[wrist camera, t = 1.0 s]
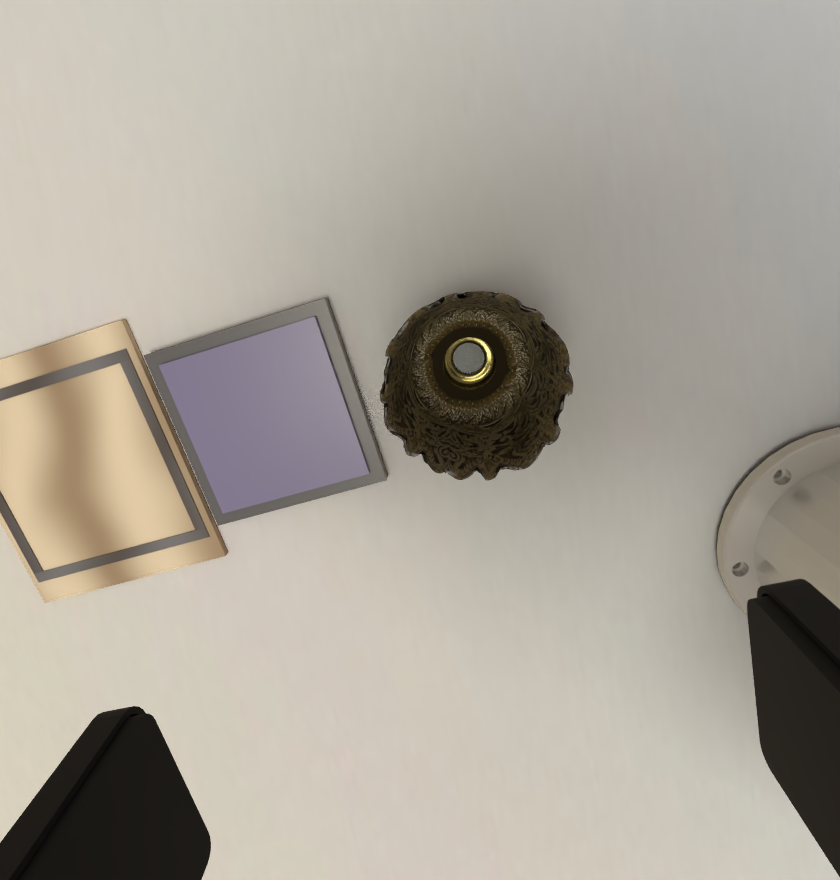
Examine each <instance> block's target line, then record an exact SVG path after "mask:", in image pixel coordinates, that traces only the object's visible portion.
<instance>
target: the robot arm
mask: <svg viewBox="0 0 840 880" xmlns="http://www.w3.org/2000/svg"><path fill="white" fill-rule="evenodd" d="M717 559H718V567H719V571H720V574H721V577H722V580H723V582H724V585H725V587H726V589H727V590H728V592H729V593H730V595H731V597H732V598H733V600H734V601H735V602H736V604H737V605H738V606H739V607H740V608H741V609H742V610H743V611H744V612H745V614H746V615H747V616H748V624H749V635H750V645H751V655H752V665H753V676H754V686H755V696H756V706H757V716H758V727H759V737H760V744H761V749H762V752H763V755H764V757H765V760H766V762H767V764H768V766H769V768H770V770H771V772H772V773H773V775H774V776H775V778H776V780H777V781H778V783H779V784H780V786H781V787H782V789H783V790H784V792H785V793H786V795H787V796H788V798H789V800H790V801H791V803H792V804H793V806H794V807H795V809H796V810H797V812H798V813H799V815H800V817H801V818H802V820H803V821H804V823H805V824H806V826H807V827H808V829H809V830H810V832H811V833H812V835H813V837H814V838H815V840H816V841H817V843H818V844H819V846H820V847H821V849H822V850H823V852H824V854H825V855H826V857H827V858H828V860H829V861H830V863H831V864H832V866H833V867H834V869H835V870H836V872H837V874H838V875H839V877H840V427H837V428H833V429H829V430H825V431H821V432H817V433H813V434H811V435H808V436H806V437H804V438H802V439H799V440H797V441H795V442H792V443H790V444H788V445H787V446H785V447H783V448H782V449H780V450H779V451H777V452H776V453H774V454H772V455H771V456H769V457H768V458H767V459H766V460H765V461H763V462H762V463H761V464H760V465H759V466H758V467H757V468H756V469H754V470H753V471H752V472H751V473H750V474H749V475H748V477H747V478H746V479H745V480H744V482H743V483H742V484H741V485H740V486H739V488H738V489H737V490H736V491H735V493H734V495H733V497H732V499H731V501H730V502H729V504H728V506H727V508H726V510H725V512H724V515H723V518H722V521H721V525H720V528H719V531H718V541H717ZM210 850H211V841H210V836H209V832H208V830H207V828H206V826H205V824H204V822H203V820H202V817H201V815H200V813H199V811H198V809H197V807H196V805H195V803H194V801H193V798H192V796H191V794H190V792H189V790H188V788H187V786H186V784H185V782H184V779H183V777H182V775H181V773H180V771H179V769H178V767H177V765H176V763H175V760H174V758H173V756H172V754H171V752H170V750H169V748H168V746H167V744H166V741H165V739H164V737H163V735H162V733H161V731H160V729H159V727H158V725H157V722H156V720H155V719H154V717H153V716H152V715H150V714H146V713H145V712H144V710H143V709H141V708H140V707H136V706H133V707H128V708H122V709H117V710H112V711H107V712H103V713H100V714H98V715H97V716H96V717H95V718H94V719H93V720H92V721H91V723H90V724H89V725H88V727H87V728H86V729H85V731H84V732H83V733H82V735H81V736H80V737H79V739H78V740H77V741H76V743H75V744H74V745H73V747H72V748H71V749H70V751H69V752H68V753H67V755H66V756H65V757H64V759H63V760H62V761H61V763H60V764H59V765H58V767H57V768H56V769H55V771H54V772H53V773H52V775H51V776H50V777H49V779H48V780H47V781H46V783H45V784H44V785H43V787H42V788H41V789H40V791H39V792H38V793H37V795H36V796H35V797H34V799H33V800H32V801H31V803H30V804H29V805H28V807H27V808H26V809H25V811H24V812H23V813H22V815H21V816H20V817H19V819H18V820H17V821H16V823H15V824H14V825H13V827H12V828H11V829H10V831H9V832H8V833H7V835H6V836H5V837H4V839H3V840H2V841H1V843H0V880H201V879H202V877H203V874H204V871H205V869H206V866H207V863H208V860H209V857H210Z"/></svg>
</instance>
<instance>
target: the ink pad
mask: <svg viewBox="0 0 840 880" xmlns="http://www.w3.org/2000/svg"><path fill="white" fill-rule="evenodd" d="M144 357H145V360H146V362H147V364H148V366H149V369H150V371H151V373H152V376H153V378H154V380H155V382H156V385H157V387H158V389H159V392H160V394H161V396H162V398H163V401H164V403H165V405H166V408H167V410H168V412H169V414H170V417H171V419H172V421H173V424H174V426H175V428H176V430H177V433H178V435H179V437H180V440H181V442H182V444H183V446H184V449H185V451H186V453H187V455H188V458H189V460H190V462H191V465H192V467H193V469H194V471H195V474H196V476H197V478H198V481H199V483H200V485H201V487H202V490H203V492H204V494H205V497H206V499H207V501H208V503H209V506H210V508H211V510H212V513H213V515H214V517H215V519H216V522H217V524H218V525H222V524H226V523H229V522H233V521H237V520H241V519H244V518H248V517H252V516H255V515H259V514H263V513H267V512H270V511H274V510H278V509H281V508H285V507H289V506H292V505H296V504H300V503H304V502H307V501H311V500H315V499H318V498H322V497H326V496H330V495H333V494H337V493H341V492H344V491H348V490H352V489H356V488H359V487H363V486H367V485H370V484H374V483H378V482H381V481H385V480H387V477H388V475H387V472H386V469H385V466H384V463H383V460H382V457H381V454H380V451H379V448H378V445H377V442H376V439H375V436H374V433H373V430H372V427H371V424H370V421H369V419H368V416H367V413H366V410H365V407H364V404H363V401H362V398H361V395H360V392H359V389H358V386H357V383H356V380H355V377H354V374H353V371H352V368H351V365H350V362H349V360H348V357H347V354H346V351H345V348H344V345H343V342H342V339H341V336H340V333H339V330H338V327H337V324H336V321H335V318H334V315H333V312H332V309H331V306H330V303H329V301H328V298H327V297H326V298H323V299H320V300H317V301H314V302H310V303H307V304H304V305H301V306H298V307H295V308H291V309H288V310H285V311H282V312H279V313H276V314H273V315H269V316H266V317H263V318H260V319H257V320H254V321H251V322H247V323H244V324H241V325H238V326H235V327H232V328H229V329H225V330H222V331H219V332H216V333H213V334H210V335H206V336H203V337H200V338H197V339H194V340H191V341H188V342H184V343H181V344H178V345H175V346H172V347H169V348H166V349H162V350H159V351H156V352H153V353H150V354H147V355H144Z"/></svg>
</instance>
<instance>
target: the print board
mask: <svg viewBox="0 0 840 880" xmlns="http://www.w3.org/2000/svg"><path fill="white" fill-rule="evenodd" d="M0 523H1V524H2V526H3V528H4V530H5V532H6V534H7V535H8V537H9V539H10V541H11V543H12V544H13V546H14V548H15V550H16V552H17V553H18V555H19V557H20V559H21V561H22V562H23V564H24V566H25V568H26V570H27V572H28V573H29V575H30V577H31V579H32V581H33V582H34V584H35V586H36V588H37V590H38V591H39V593H40V595H41V597H42V599H43V600H44V602H45V603H47V602H51V601H55V600H59V599H62V598H66V597H70V596H74V595H78V594H81V593H85V592H89V591H93V590H97V589H101V588H104V587H108V586H112V585H116V584H120V583H123V582H127V581H131V580H135V579H139V578H143V577H146V576H150V575H154V574H158V573H162V572H166V571H169V570H173V569H177V568H181V567H185V566H188V565H192V564H196V563H200V562H204V561H208V560H211V559H215V558H219V557H223V556H226V555H227V553H228V551H227V549H226V546H225V544H224V542H223V540H222V537H221V535H220V533H219V531H218V528H217V526H216V524H215V521H214V519H213V517H212V515H211V512H210V510H209V508H208V505H207V503H206V501H205V499H204V496H203V494H202V492H201V490H200V487H199V485H198V483H197V480H196V478H195V476H194V474H193V471H192V469H191V467H190V464H189V462H188V460H187V458H186V455H185V453H184V451H183V448H182V446H181V444H180V442H179V439H178V437H177V435H176V433H175V430H174V428H173V426H172V423H171V421H170V419H169V417H168V414H167V412H166V410H165V407H164V405H163V403H162V401H161V398H160V396H159V394H158V392H157V389H156V387H155V385H154V382H153V380H152V378H151V376H150V373H149V371H148V369H147V366H146V364H145V362H144V360H143V357H142V355H141V353H140V351H139V348H138V346H137V344H136V341H135V339H134V337H133V335H132V332H131V330H130V328H129V325H128V323H127V321H126V319H124V320H120V321H117V322H114V323H111V324H108V325H105V326H102V327H99V328H96V329H93V330H90V331H87V332H84V333H80V334H77V335H74V336H71V337H68V338H65V339H62V340H59V341H56V342H53V343H50V344H47V345H44V346H41V347H38V348H35V349H32V350H29V351H26V352H23V353H20V354H17V355H13V356H10V357H7V358H4V359H1V360H0Z"/></svg>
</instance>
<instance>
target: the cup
mask: <svg viewBox="0 0 840 880" xmlns="http://www.w3.org/2000/svg"><path fill="white" fill-rule="evenodd" d="M544 319H545V318H544V316H543V315H542V314H541V313H540V312H539V311H537V310H536V309H532V308H528V307H525V306H523V305H522V304H521V302H519V300H517V299H515V298H513V297H511V296H509V295H506V294H503V293H494V292H485V291H479V292H466V293H464V294H457V293H455V294H452V295H448V296H445V297H443V298H441V299H439V300H438V301H436V302H434V303H432V304H430V305H428V306H425V307H423V308H421V309H420V310H418V311H417V312H415V313H414V314H413V315H412V316H411V317H409V319H408V320H407V321H406V322H405V323H404V324H403V326H402V327H401V328H400V330H399V331H398V333H397V335H396V336H395V338H393V339H392V340H391V342H390V344H389V345H388V348H387V350H386V356H388V359H387V364H386V367H385V370H384V383H383V385H382V389H381V391H380V400H381V402H382V403H384V421H385V425H386V427H387V429H388V430H389V431H390V432H391V433H392V434H394V435H396V436H398V437H400V438H401V439H402V440H403V441H404V448H405V452H406V454H407V455H409V456H413V457H415V456H418V455H419V454H422V456H423V459H424V462H426V463H427V464H428V465H429V466H430V467H431V469H432V470H433V471H434V472H436V473H442V472H445V473H446V472H448V474H449V475H451V476H452V477H454V478H455V479H458V480H463V479H466V478H468V477H469V476H471V475H472V474H473V473H474V472H475V471H478V472H479V473H481V474H482V476H483V477H484V478H485V479H486V480H491V479H493V478H495V477H496V475H497V473H498V472H499V470H500V469H511V470H520V469H525V468H528V467H529V466H530V465H531V464H532V463H533V462H534V461H535V460H536V459H537V457H538V456H539V454H540V452H541V451H542V449H543V447H544V446H545V444H546V445H550V444H552V443H553V442H555V441H556V440H557V439H558V437H559V434H560V430H561V429H560V428H559V425H558V421H557V420H558V417H559V414H560V413H561V412H562V410H563V408H564V400H565V395H567V394H568V396H569V395H571V394H572V391H573V379H572V377H571V374H570V372H569V363H570V362H569V355H568V351H567V348H566V346H565V344H564V342H563V341H562V339H561V338H560V337H559V336H558V334H557V333H556V332H555V331H554V330H553V329H552V328H551V327H550V326H548V325H547V324H546V322H545V321H544ZM464 343H474V344H476V345H478V346H479V347H480V348H481V349H482V350H483V352H484V356H485V360H484V364H483V366H482V368H481V369H480V370H479V371H478V372H476V373H473V374H463V373H461V372H459V371H458V370H457V369H456V368H455V366H454V364H453V354H454V352H455V350H456V349H457V347H459V346H460V345H462V344H464Z"/></svg>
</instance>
